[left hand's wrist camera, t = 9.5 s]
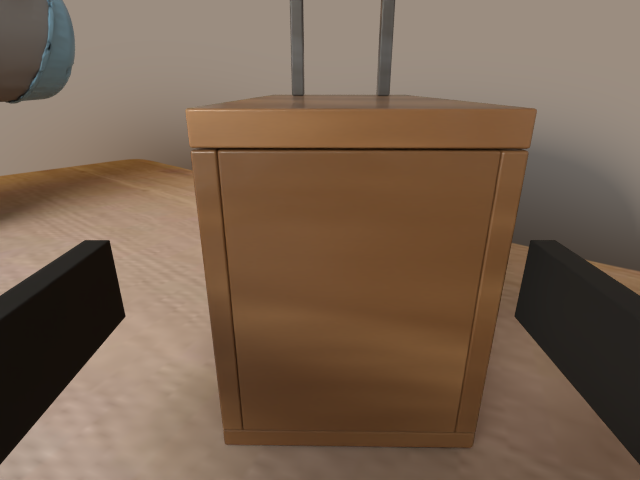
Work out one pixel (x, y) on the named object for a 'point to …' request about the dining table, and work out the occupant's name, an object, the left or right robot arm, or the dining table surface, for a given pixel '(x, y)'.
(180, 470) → the dining table surface
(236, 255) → the chest
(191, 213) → the dining table surface
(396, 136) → the lid
